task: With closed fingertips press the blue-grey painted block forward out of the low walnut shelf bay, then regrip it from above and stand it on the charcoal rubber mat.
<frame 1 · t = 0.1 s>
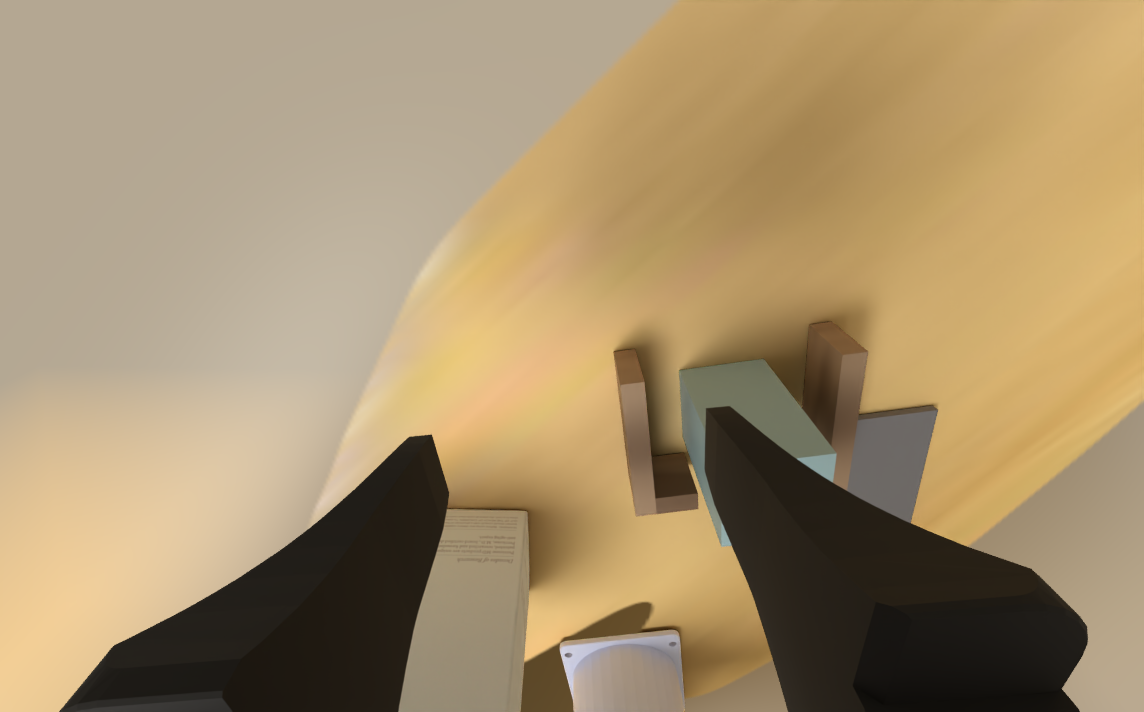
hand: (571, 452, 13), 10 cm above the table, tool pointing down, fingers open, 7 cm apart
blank: (721, 399, 24), on the table
mat: (832, 484, 27), on the table
supplement box: (468, 549, 29), on the table
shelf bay: (721, 400, 24), on the table
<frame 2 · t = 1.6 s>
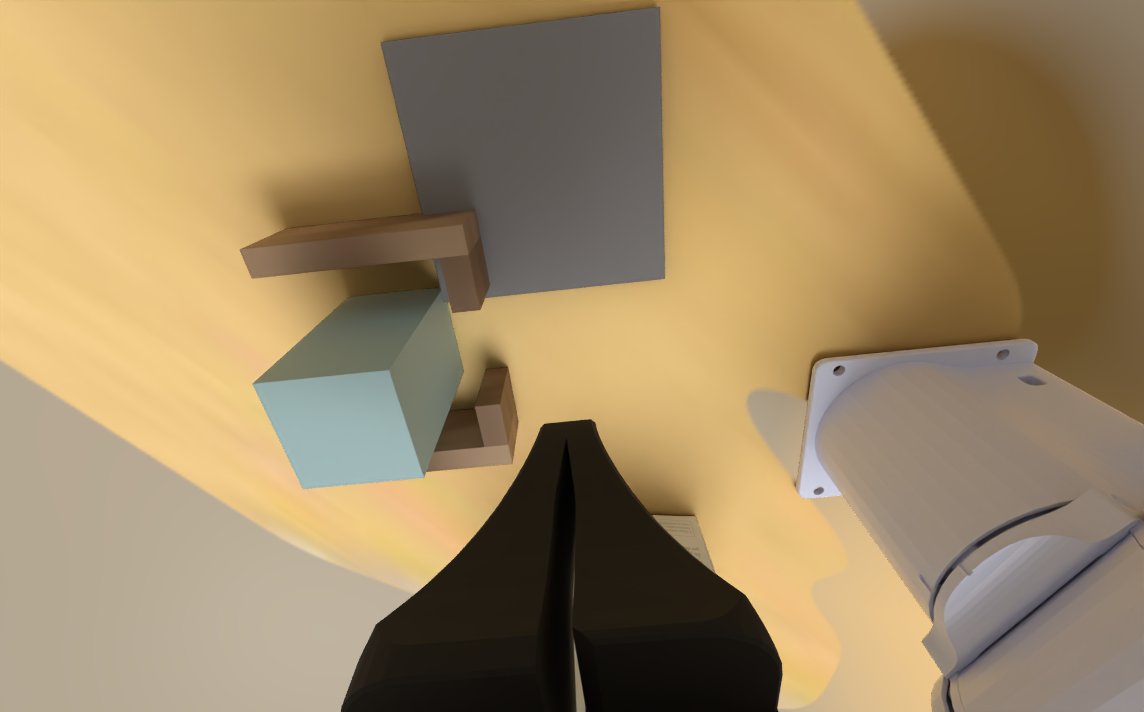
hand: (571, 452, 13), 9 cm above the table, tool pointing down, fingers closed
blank: (408, 335, 21), on the table
mat: (538, 171, 18), on the table
supplement box: (624, 555, 28), on the table
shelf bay: (408, 336, 21), on the table
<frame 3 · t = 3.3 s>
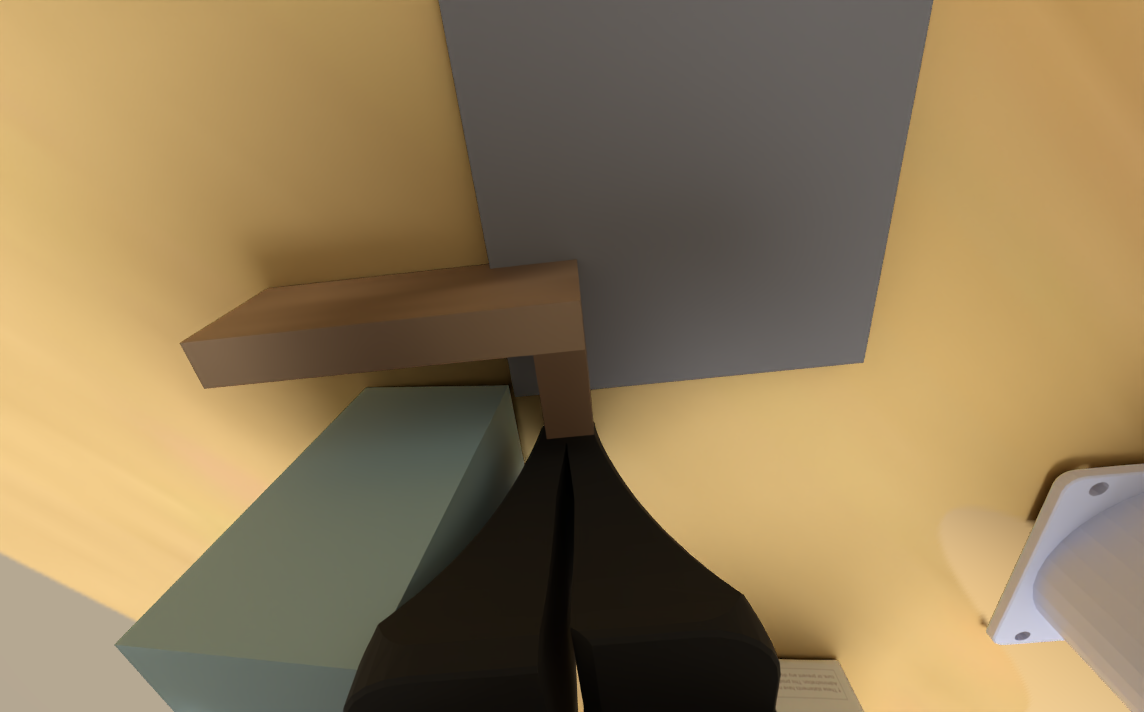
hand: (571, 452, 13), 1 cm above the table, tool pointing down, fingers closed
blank: (452, 447, 14), on the table, tilted 9°
mat: (683, 198, 11), on the table
supplement box: (730, 700, 21), on the table
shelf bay: (455, 440, 14), on the table
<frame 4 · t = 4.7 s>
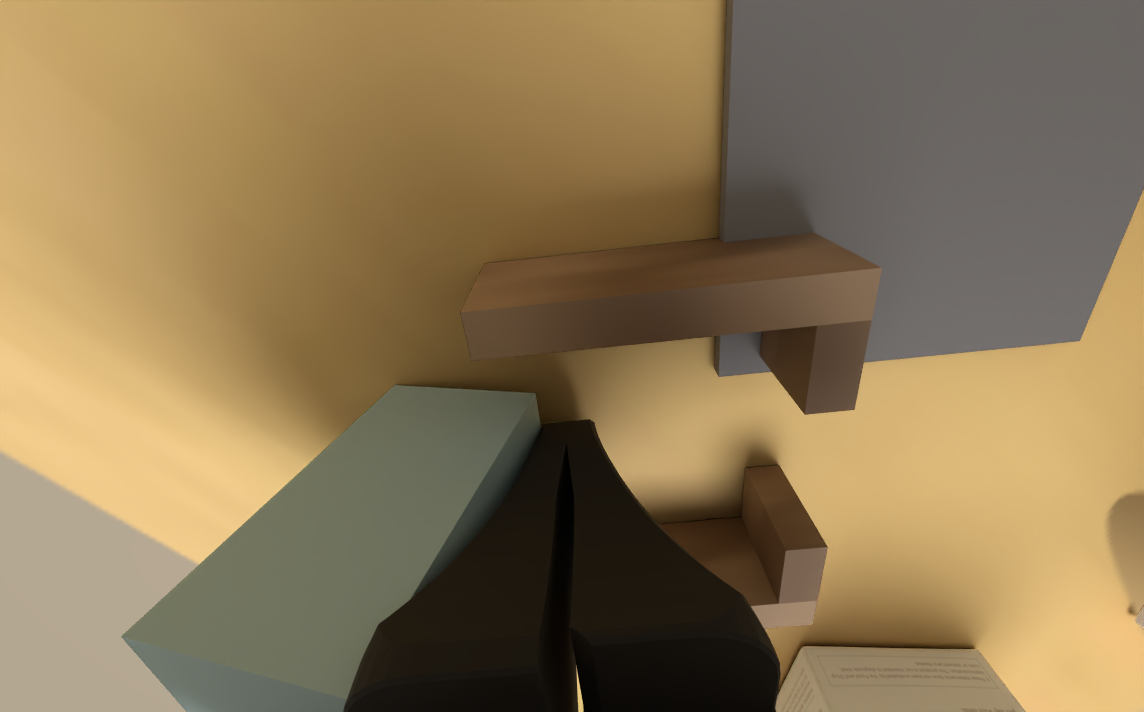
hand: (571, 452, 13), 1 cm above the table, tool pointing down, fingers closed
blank: (477, 450, 13), point 1 cm above the table, tilted 16°, touching gripper
mat: (927, 169, 11), on the table
supplement box: (856, 691, 20), on the table
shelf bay: (641, 422, 14), on the table
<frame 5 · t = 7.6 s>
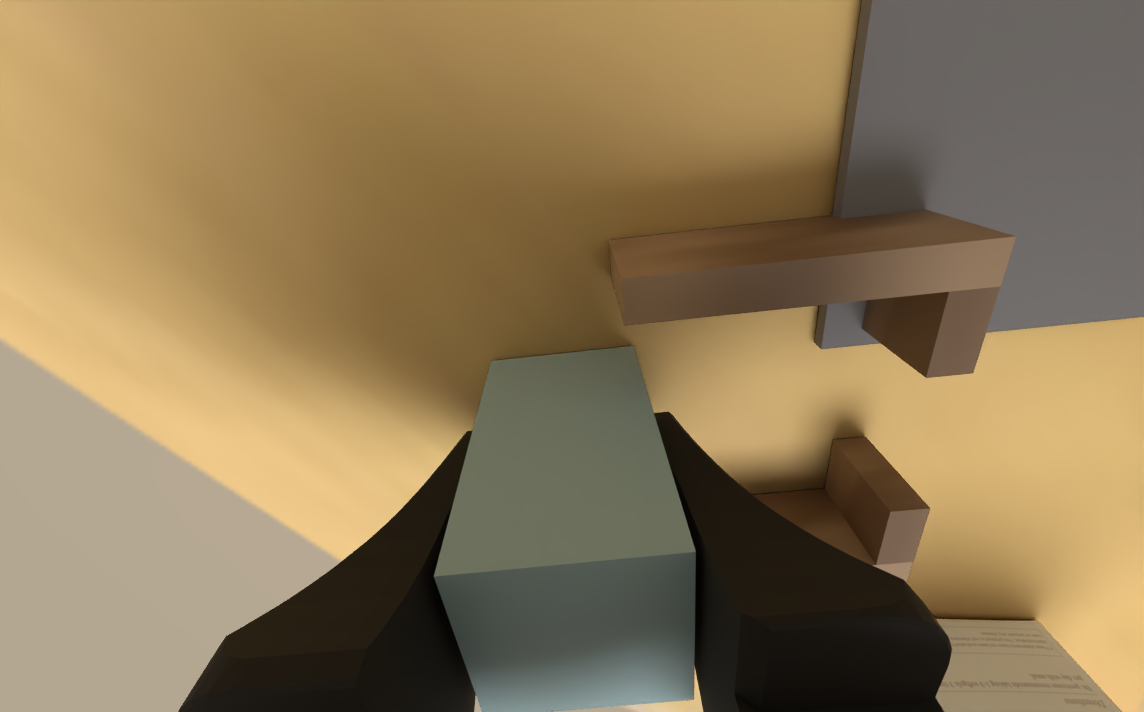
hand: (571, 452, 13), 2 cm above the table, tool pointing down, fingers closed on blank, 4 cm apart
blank: (569, 412, 15), on the table, touching gripper
mat: (1034, 150, 11), on the table
supplement box: (916, 663, 21), on the table
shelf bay: (739, 395, 14), on the table
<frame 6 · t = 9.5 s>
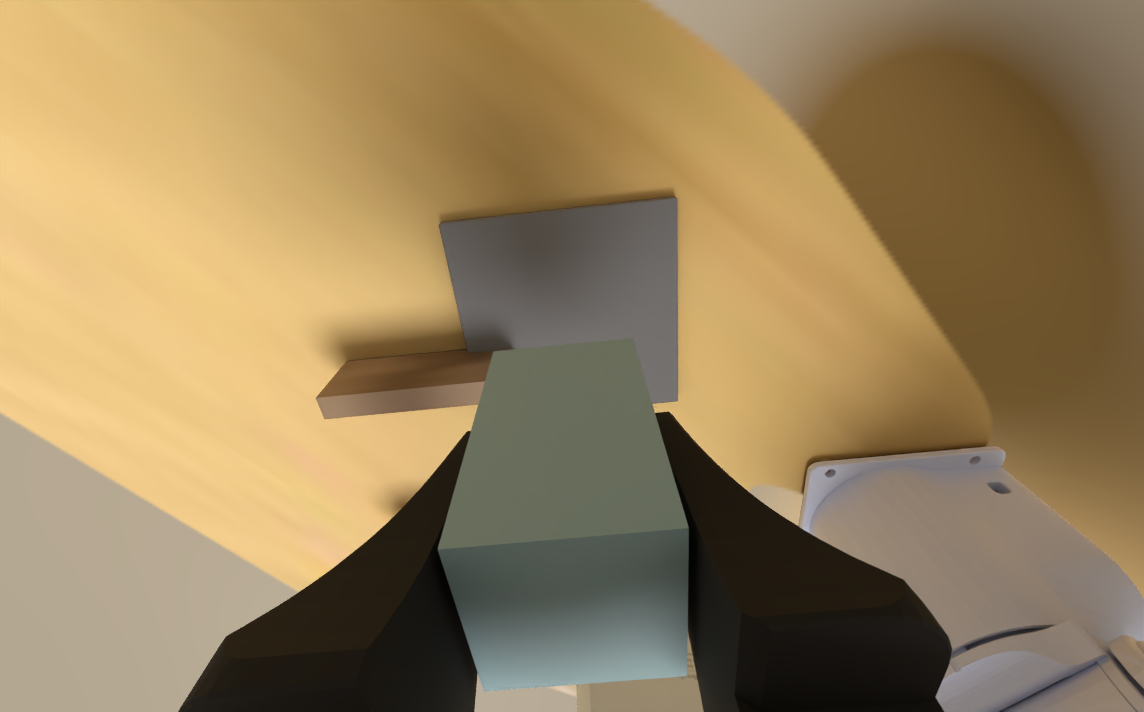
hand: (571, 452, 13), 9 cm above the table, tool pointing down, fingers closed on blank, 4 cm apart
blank: (569, 403, 15), point 7 cm above the table, touching gripper
mat: (569, 317, 21), on the table
supplement box: (636, 619, 31), on the table
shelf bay: (449, 444, 24), on the table
when the fingers open (3 cm above the table, at t = 11.0 s): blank stays where it is, resting on mat.
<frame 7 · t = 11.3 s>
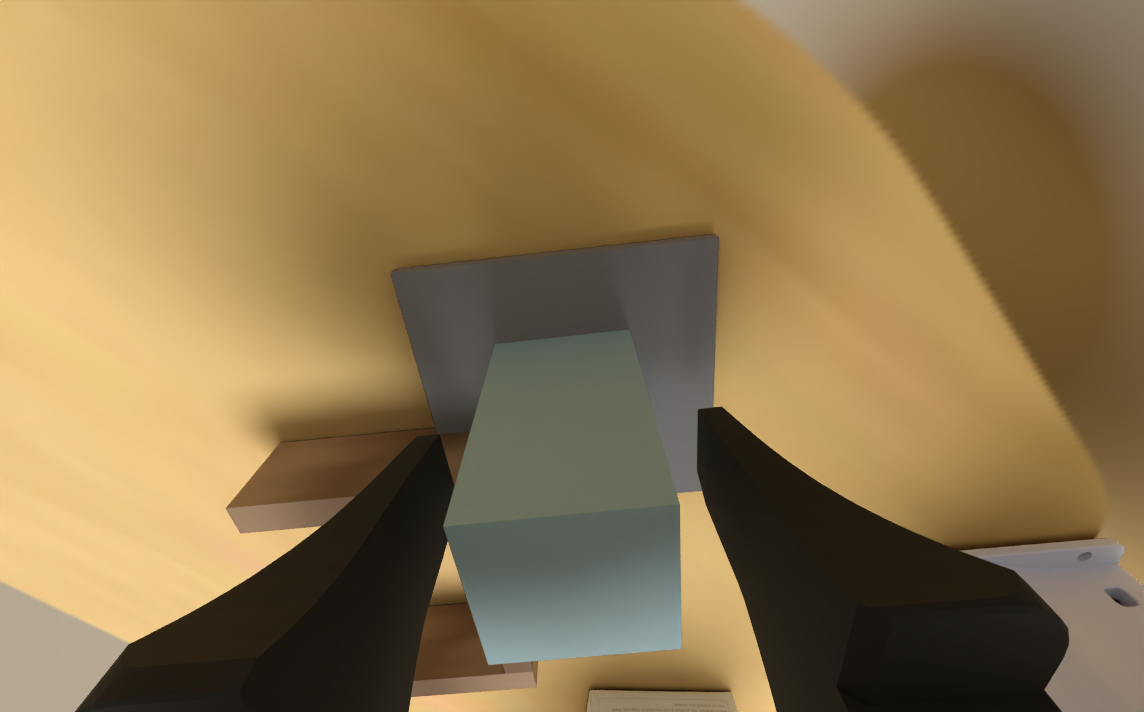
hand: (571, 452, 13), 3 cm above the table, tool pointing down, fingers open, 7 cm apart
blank: (569, 394, 15), resting on mat
mat: (570, 388, 16), on the table
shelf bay: (418, 538, 19), on the table
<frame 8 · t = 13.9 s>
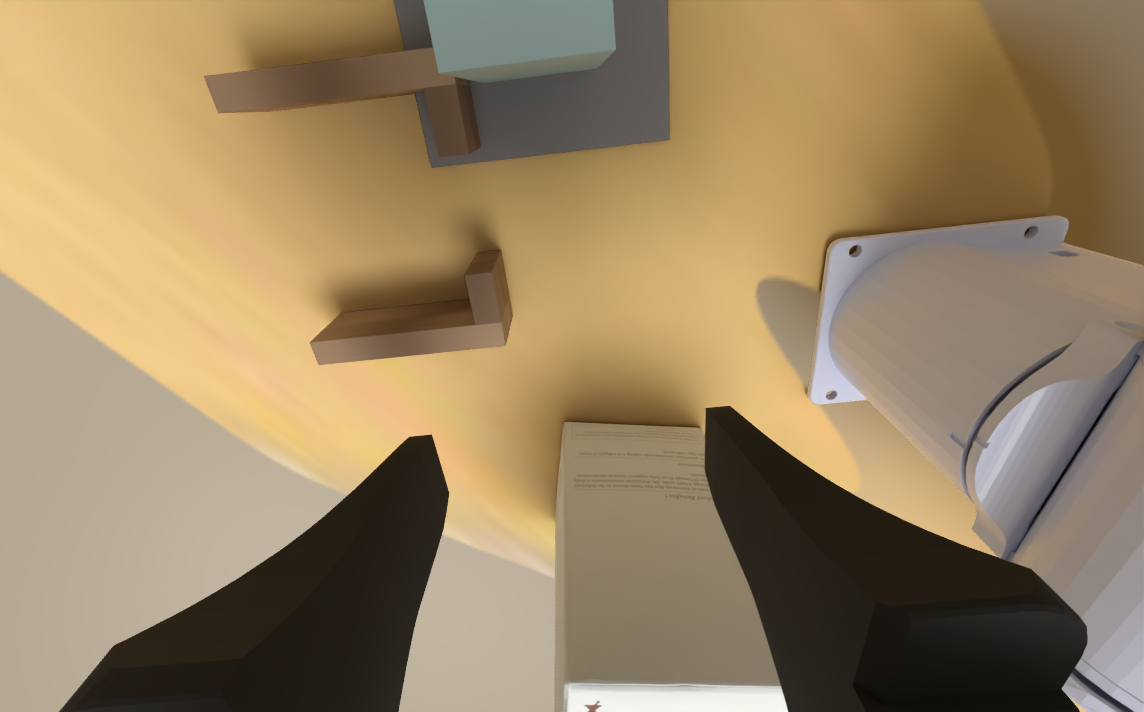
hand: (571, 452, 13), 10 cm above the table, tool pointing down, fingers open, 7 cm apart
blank: (531, 7, 16), resting on mat
mat: (532, 10, 17), on the table
supplement box: (625, 474, 26), on the table
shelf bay: (393, 211, 20), on the table
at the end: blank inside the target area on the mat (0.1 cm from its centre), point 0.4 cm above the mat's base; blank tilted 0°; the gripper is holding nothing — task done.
